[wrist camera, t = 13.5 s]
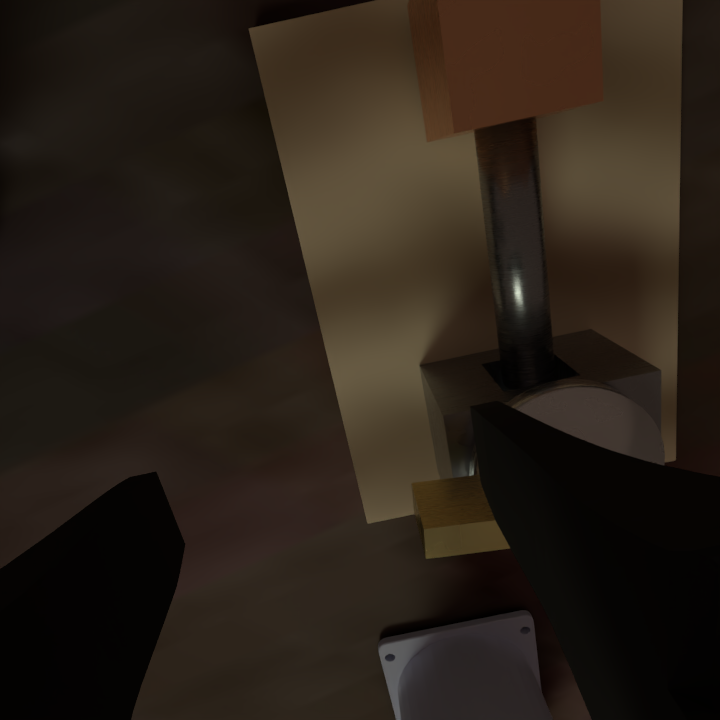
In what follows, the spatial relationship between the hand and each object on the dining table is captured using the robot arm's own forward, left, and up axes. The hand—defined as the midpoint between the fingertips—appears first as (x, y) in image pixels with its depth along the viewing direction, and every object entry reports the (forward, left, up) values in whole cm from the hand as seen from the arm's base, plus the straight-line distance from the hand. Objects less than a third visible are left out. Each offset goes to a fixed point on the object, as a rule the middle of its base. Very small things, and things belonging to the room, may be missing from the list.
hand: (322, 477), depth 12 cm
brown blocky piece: (+4, -7, -9) cm, 12 cm away
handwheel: (-4, -6, -4) cm, 8 cm away
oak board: (+1, -7, -10) cm, 12 cm away
